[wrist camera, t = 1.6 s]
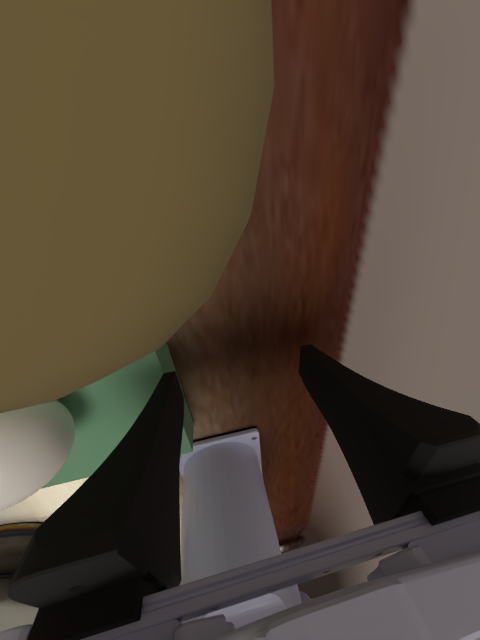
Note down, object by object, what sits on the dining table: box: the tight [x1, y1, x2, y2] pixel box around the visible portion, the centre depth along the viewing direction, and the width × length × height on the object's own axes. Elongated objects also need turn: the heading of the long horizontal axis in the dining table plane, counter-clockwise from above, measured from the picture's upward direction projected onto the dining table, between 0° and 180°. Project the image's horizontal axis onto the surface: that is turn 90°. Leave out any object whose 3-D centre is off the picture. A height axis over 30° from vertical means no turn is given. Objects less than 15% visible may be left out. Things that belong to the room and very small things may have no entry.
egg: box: [0, 400, 75, 510], centre depth 9 cm, size 4×4×4 cm
